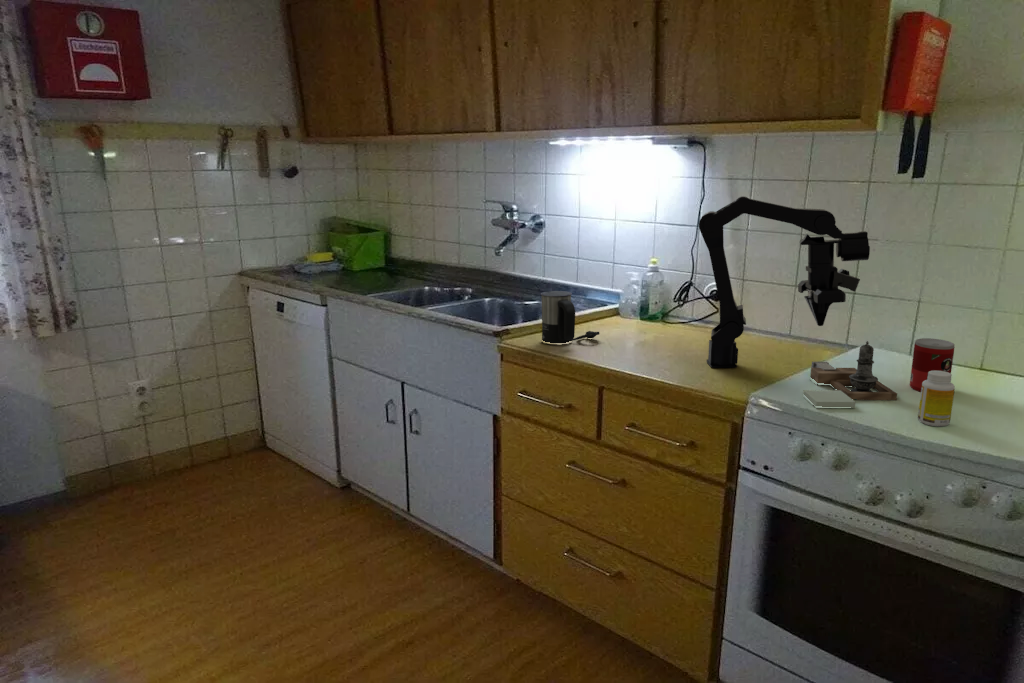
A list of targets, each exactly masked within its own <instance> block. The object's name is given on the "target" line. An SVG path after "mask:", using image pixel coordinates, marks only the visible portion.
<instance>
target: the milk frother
mask: <svg viewBox="0 0 1024 683" xmlns="http://www.w3.org/2000/svg"><path fill="white" fill-rule="evenodd" d="M540 295H541V340H543V341H545V342H550V343H566V342H569V341H572V342H574V341H578V340H581V339H584V338H586V339H587V338H593V339H594V338H595V337H596V336H598V335H600V334H601V333H600V331H591V330H589V331H586V332H585V334H582V335H579V336H576V337H575V331H576V330H575V329H576V307H575V305H574V303H573V302H572V295H573V293H572V292H571V291H566V290H565V291H564V290H563V291H562V290H550V291H543V292H541V293H540Z"/></svg>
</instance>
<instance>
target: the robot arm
mask: <svg viewBox="0 0 1024 683" xmlns="http://www.w3.org/2000/svg"><path fill="white" fill-rule="evenodd" d="M743 214H747V215H750V216H755V217H760V218H764V219H769V220H773V221H779V222H783V223H787V224H792V225H794V226H796V227H799V228H801V229H803V230H805V231H808V232H810V233H812V234H816V235H818V236H810V235H809V234H808V233H806V234H805V235H804V237H803V238H801V239H800V240H799V244H800V245H801V246H805V245H806V246H807V265H805V271H806V272H807V279H804V280H801V281H800V282H799V283H798V284H797V292H798V293H800V294H803V293H804V292H807V295H805V296H803V297H804V299H805V301H806V303H807V305H808V307H809V309H810V312H811V313H812V316H813V319H814V321H815V322H816V325H817V326H818V327H822V326H823V327H824V324H825V322H826V321H825V320H826V317H827V314H828V311H829V309H830V306H831V305H832V304H834V303H845V302H846V299H847V298H846V297H847V296H846V295H847V294H846V292H844V291H843V290H842V289H840V288H843V289H848V290H850V291H851V292H856V290H857V288H858V285H859V283H860V281H861V279H860V278H858V277H856V276H853V275H850V271H849V270H847V269H843V268H841V269H839V270H838V267H837V266H835V264H834V263H835V255H836V258H840V260H841V262H854V261H855V262H857V261H858V262H859V261H868V260H869V259H870V252H871V247H870V242H869V236H868V235H869V234H868V231H866V230H862V231H856V232H844V233H843V232H842V230H841V229H840V228H839V227H838V226H837V225H836V217H835V216H834V214H833V213H832V212H830V211H828V210H826V209H825V208H824V209H821V208H799V207H798V208H796V207H791V206H786V205H781V204H776V203H773V202H772V203H771V202H768V201H762V200H758V199H753V198H749V197H747V196H744V195H743V196H742V195H741V196H739V197H736V199H735V200H734V201H731V202H730V203H728V204H727V205H725V206H724V207H721V208H720V209H718V210H717V211H714V210H712V211H707V212H705V213H704V214H702V216H701V217H700V219H699V222H698V229H699V231H700V234H701V236H702V239H703V241H704V244H705V245H706V247H707V249H708V253H709V258H710V263H711V267H712V273H713V277H714V283H715V288H716V292H717V298H718V302H719V324H717V325H716V326H714V328H712V329H711V334H710V339H708V340H709V341H708V353H707V354H708V355H707V359H706V363H707V364H708V365H709V366H710V368H713V369H716V368H719V369H720V368H723V369H724V368H727V369H728V368H729V369H730V368H732V369H734V368H735V369H736V368H737V367H738V365H737V364H738V358H739V357H738V356H739V348H738V347H737V342H736V339H737V338H740V336H742V335H743V333H744V330H745V327H744V326H745V325H747V319H746V317H745V315H744V306H743V304H740V305H737V302H736V300H735V297H734V292H733V288H732V287H733V286H732V281H731V277H730V272H729V266H728V262H727V257H726V252H725V247H724V240H725V239H724V237H725V236H724V226H725V225H728V224H729V223H731V221H733V220H735V219H737V218H739V217H740V216H742V215H743ZM826 235H827V236H828V237H831V238H832V239H825V237H824V236H826ZM835 244H836V245H835ZM835 253H836V254H835ZM839 287H840V288H839Z"/></svg>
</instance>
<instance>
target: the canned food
mask: <svg viewBox="0 0 1024 683" xmlns="http://www.w3.org/2000/svg"><path fill="white" fill-rule="evenodd" d="M913 345H914V347H913V353H912V354H913V355H912V361H911V362H912V363H911V371H910V379H909V386H910V388H912V389H913V390H914V391H916V392H920V393H921V388H922V382H923V381H925V380H927V378H928V372H929V371H934V370H936V371H945V372H948V373H951V374H952V369H953V361H954V356H955V343H954V342H951V341H949V340H945V339H939V338H927V337H926V338H925V337H923V338H917V339H915V341H914V344H913Z"/></svg>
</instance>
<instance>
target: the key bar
mask: <svg viewBox="0 0 1024 683" xmlns="http://www.w3.org/2000/svg"><path fill="white" fill-rule="evenodd" d="M810 366H811V368H822V369H823V370H824V371H836V368H835V367H833V365H830V364H829V361H811V365H810ZM811 368H810V369H811Z"/></svg>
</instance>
